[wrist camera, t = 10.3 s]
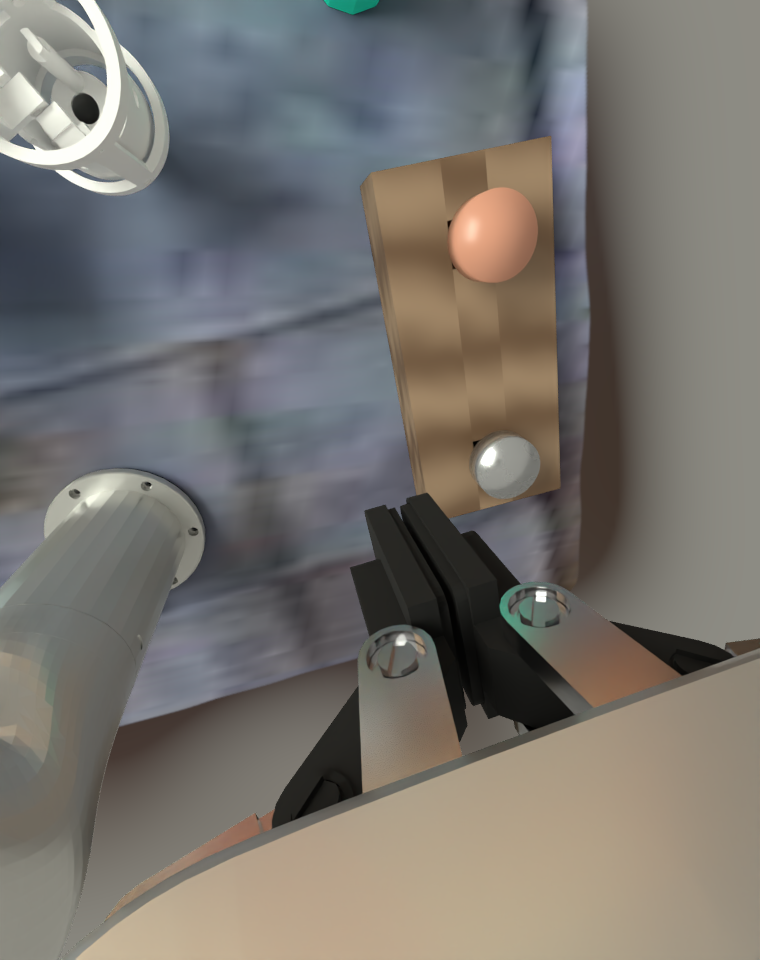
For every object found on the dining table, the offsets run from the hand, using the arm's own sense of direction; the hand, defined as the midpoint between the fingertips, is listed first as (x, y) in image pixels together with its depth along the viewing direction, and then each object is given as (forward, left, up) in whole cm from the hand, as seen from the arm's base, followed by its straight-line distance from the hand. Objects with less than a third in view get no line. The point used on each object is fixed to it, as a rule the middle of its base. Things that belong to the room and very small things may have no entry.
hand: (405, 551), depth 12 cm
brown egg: (+12, -5, -26) cm, 30 cm away
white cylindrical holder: (+7, +17, -29) cm, 34 cm away
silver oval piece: (0, -15, -27) cm, 31 cm away
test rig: (+6, -10, -29) cm, 31 cm away
